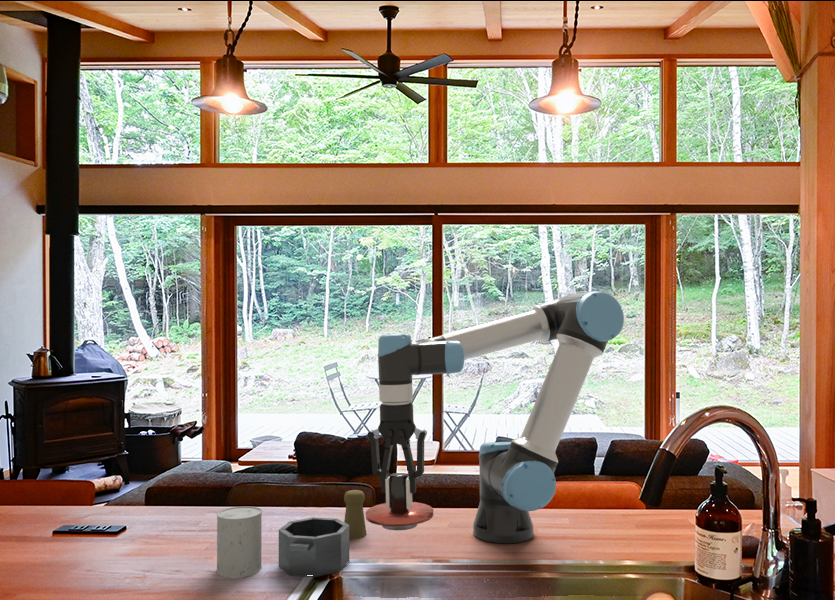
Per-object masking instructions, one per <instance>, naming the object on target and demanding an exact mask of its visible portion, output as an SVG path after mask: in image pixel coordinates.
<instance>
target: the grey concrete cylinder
mask: <svg viewBox="0 0 835 600" xmlns="http://www.w3.org/2000/svg"><path fill="white" fill-rule="evenodd" d="M262 513H263V510H262V509H261V508H260V507H256V506H245V505H244V506H233V507H228V508H225V509H222V510H219V511H218V512H217V513H216V516H217V517H216V519H217V520H216V528H217V529H216V534H217V535H216V574H217V575H218V576H220V577H222V578H229V579H238V578H239V579H240V578H245V577H246V578H247V577H249V576H253V575H255V574H257V573H259V572H261V570H262V569H263V565H262V543H263V542H262V540H263V539H262V532H263V531H262V529H263V528H262V524H263V523H262V522H263V521H262V519H263V518H262V517H263V516H262Z"/></svg>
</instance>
